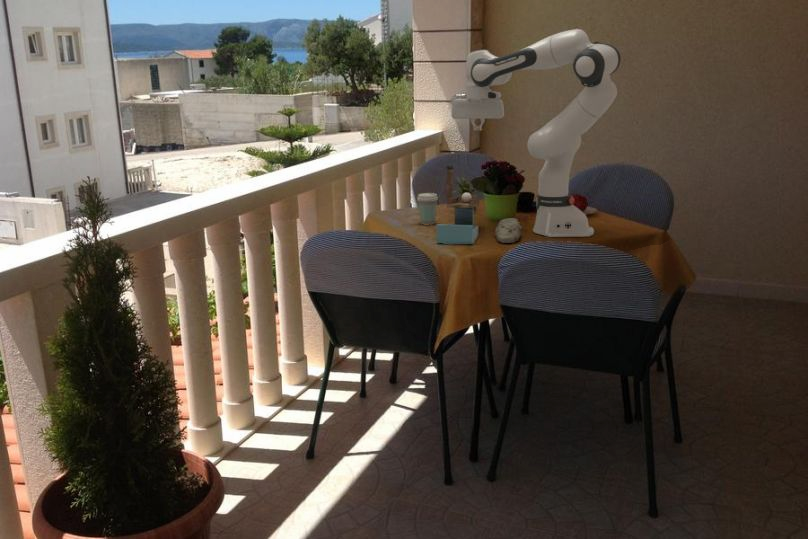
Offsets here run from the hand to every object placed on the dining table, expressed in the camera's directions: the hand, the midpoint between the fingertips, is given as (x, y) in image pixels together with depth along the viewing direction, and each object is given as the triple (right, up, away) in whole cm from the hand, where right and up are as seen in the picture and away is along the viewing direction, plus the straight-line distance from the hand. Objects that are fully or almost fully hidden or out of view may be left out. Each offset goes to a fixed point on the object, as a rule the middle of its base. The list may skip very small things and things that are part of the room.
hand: (477, 130), depth 284 cm
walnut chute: (-7, -32, -6) cm, 33 cm away
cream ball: (-4, -26, 0) cm, 26 cm away
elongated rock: (+11, -41, -7) cm, 43 cm away
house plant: (-3, -29, +34) cm, 45 cm away
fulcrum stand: (-6, -39, -3) cm, 40 cm away
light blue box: (-9, -43, -16) cm, 47 cm away
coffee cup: (-19, -36, +13) cm, 42 cm away
